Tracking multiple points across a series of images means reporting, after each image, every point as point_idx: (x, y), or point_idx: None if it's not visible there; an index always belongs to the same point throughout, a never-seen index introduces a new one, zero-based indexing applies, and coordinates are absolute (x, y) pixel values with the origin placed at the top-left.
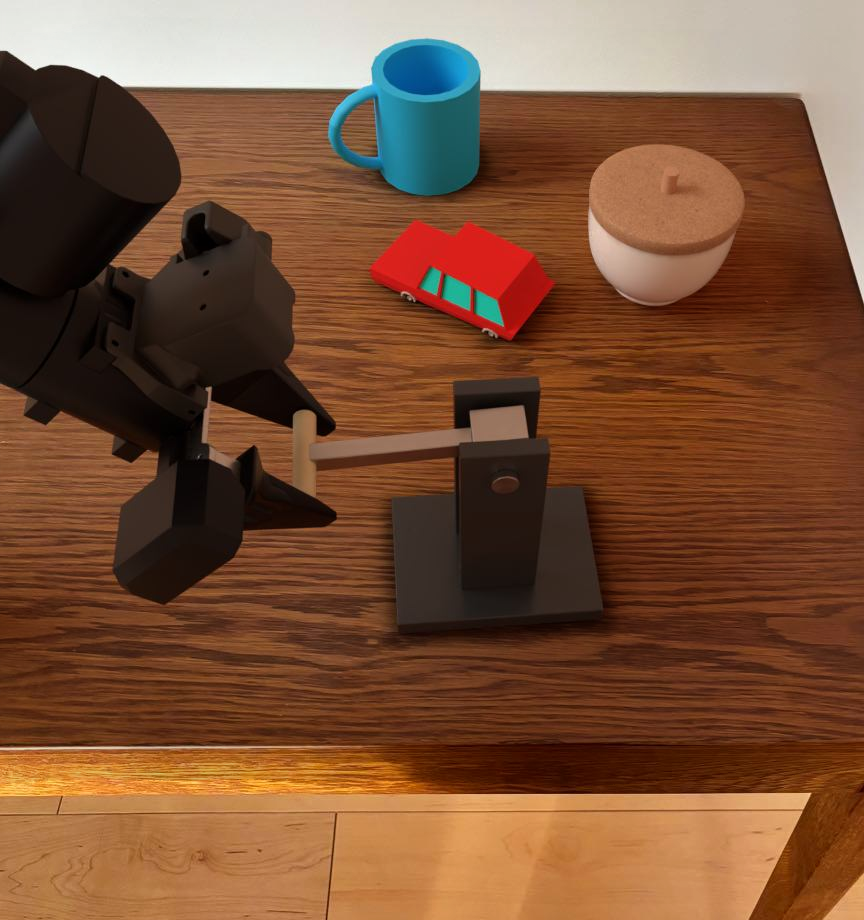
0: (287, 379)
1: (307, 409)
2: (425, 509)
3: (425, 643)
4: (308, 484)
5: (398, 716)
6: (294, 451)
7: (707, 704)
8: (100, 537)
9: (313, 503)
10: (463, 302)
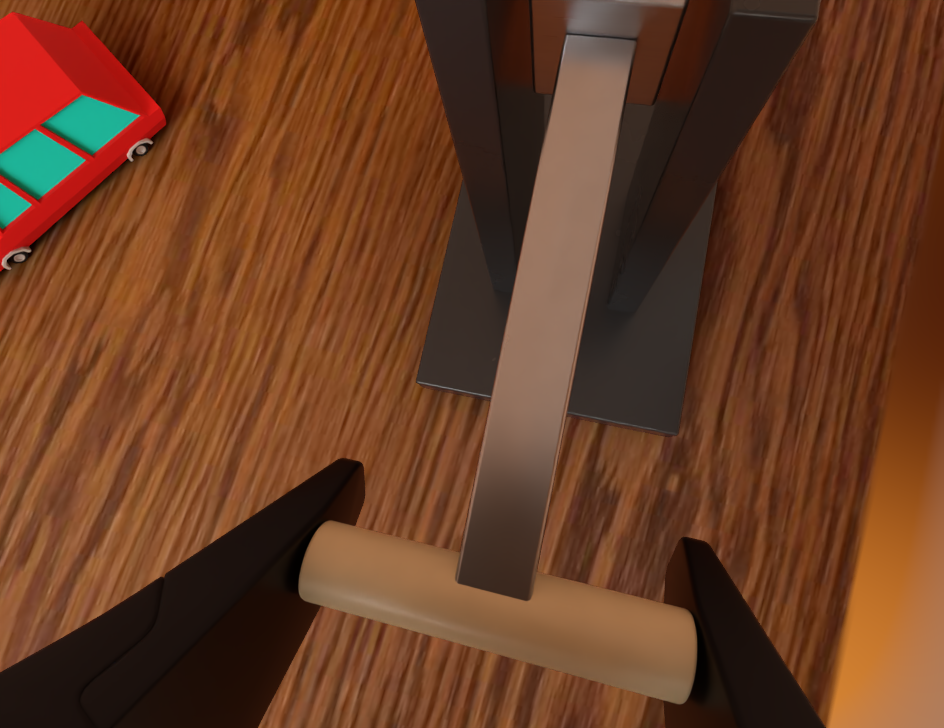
0: (174, 630)
1: (302, 549)
2: (457, 332)
3: (697, 398)
4: (647, 633)
5: (826, 476)
6: (469, 641)
7: (899, 21)
8: None
9: (742, 637)
10: (63, 163)
